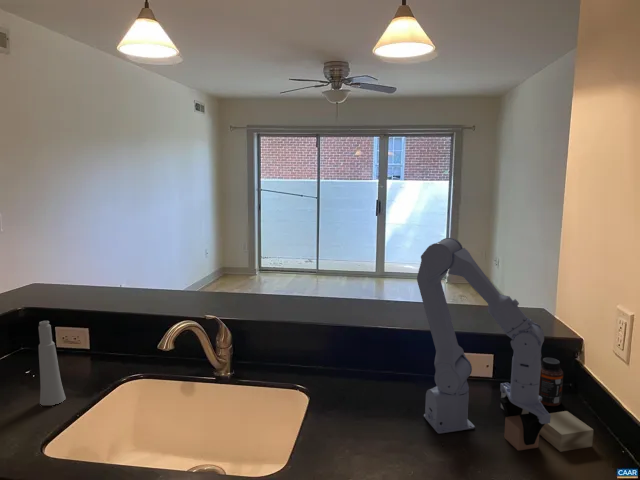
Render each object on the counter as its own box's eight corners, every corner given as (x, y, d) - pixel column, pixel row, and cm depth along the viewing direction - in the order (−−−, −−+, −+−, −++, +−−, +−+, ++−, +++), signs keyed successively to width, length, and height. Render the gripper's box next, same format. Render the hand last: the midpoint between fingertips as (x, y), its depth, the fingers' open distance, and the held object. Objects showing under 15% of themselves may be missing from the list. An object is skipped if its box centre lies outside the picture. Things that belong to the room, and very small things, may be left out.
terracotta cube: (518, 450, 102) (519, 429, 101) (504, 437, 107) (505, 417, 106) (538, 447, 103) (539, 426, 102) (523, 434, 108) (525, 414, 107)
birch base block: (560, 451, 101) (561, 434, 101) (535, 431, 109) (536, 415, 108) (591, 446, 103) (593, 429, 102) (565, 426, 111) (566, 410, 110)
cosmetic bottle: (63, 404, 123) (55, 324, 119) (37, 409, 121) (27, 327, 117) (67, 394, 128) (59, 316, 125) (42, 398, 126) (33, 319, 123)
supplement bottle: (564, 408, 119) (567, 366, 117) (538, 406, 120) (541, 364, 118) (557, 397, 124) (560, 356, 123) (533, 395, 126) (536, 354, 124)
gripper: (565, 392, 96) (560, 453, 98) (520, 363, 110) (516, 417, 112) (535, 396, 95) (530, 458, 97) (493, 366, 109) (490, 420, 111)
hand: (521, 436), depth 105 cm, fingers closed on terracotta cube, 5 cm apart
